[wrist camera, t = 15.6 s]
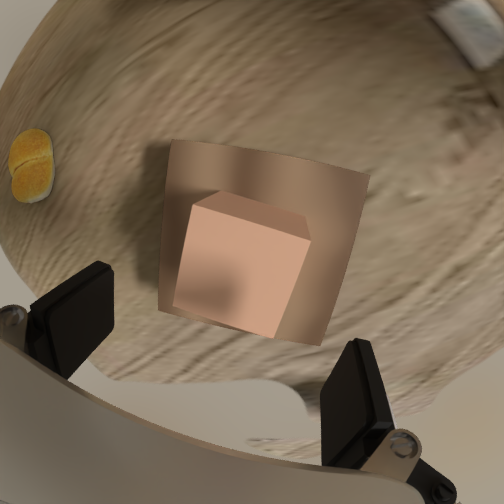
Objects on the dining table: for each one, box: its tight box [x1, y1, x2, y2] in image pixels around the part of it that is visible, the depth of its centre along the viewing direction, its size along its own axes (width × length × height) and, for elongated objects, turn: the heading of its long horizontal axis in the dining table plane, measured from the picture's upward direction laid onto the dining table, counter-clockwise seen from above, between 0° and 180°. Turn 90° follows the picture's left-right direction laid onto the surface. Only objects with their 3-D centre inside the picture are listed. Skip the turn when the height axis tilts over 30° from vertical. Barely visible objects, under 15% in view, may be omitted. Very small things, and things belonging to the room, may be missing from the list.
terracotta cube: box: [173, 191, 311, 339], centre depth 17 cm, size 6×6×6 cm
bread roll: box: [8, 128, 55, 203], centre depth 24 cm, size 8×9×4 cm
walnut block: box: [158, 139, 370, 346], centre depth 23 cm, size 14×14×5 cm
